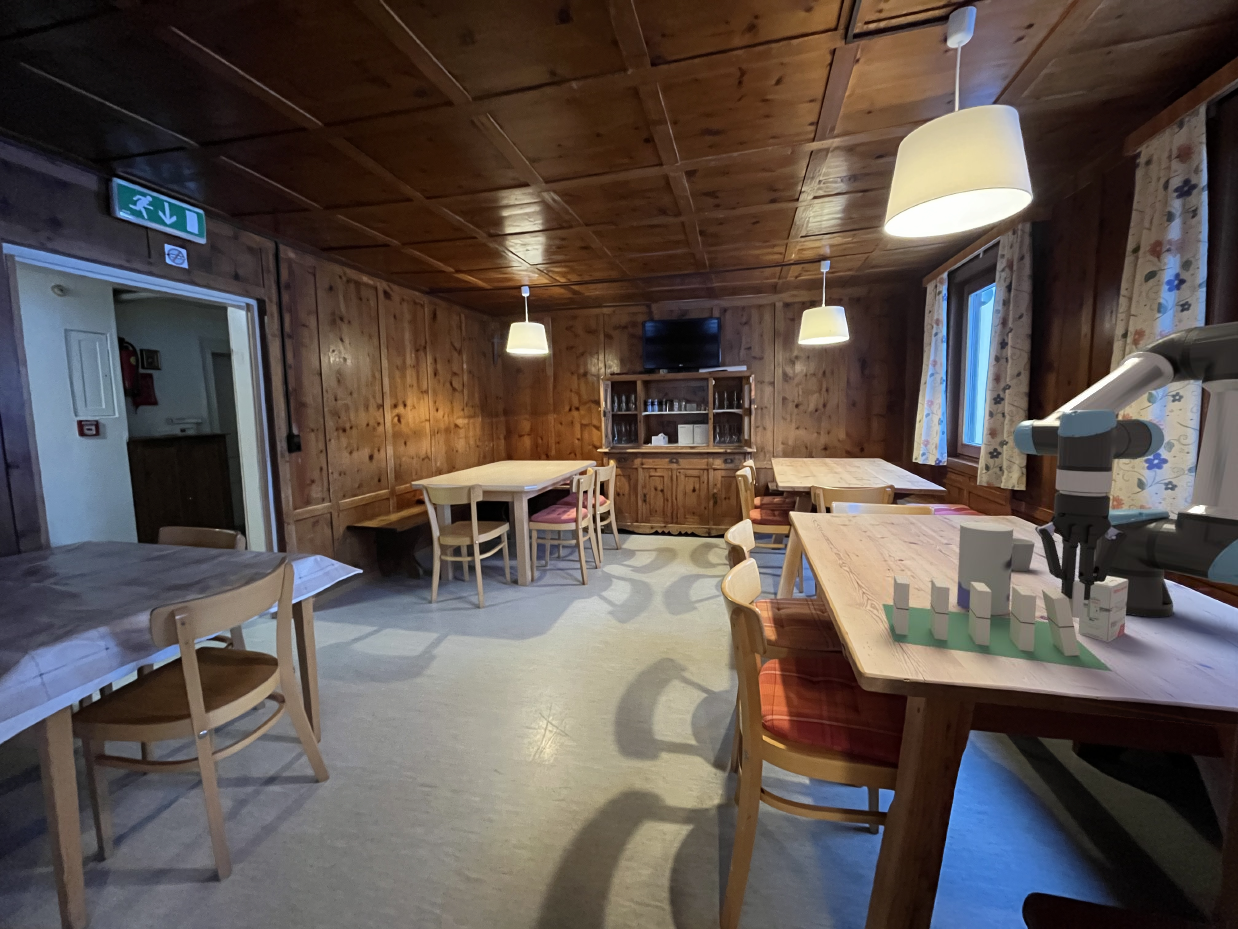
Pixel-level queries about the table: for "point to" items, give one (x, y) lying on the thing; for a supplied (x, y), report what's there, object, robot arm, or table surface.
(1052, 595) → the domino
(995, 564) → the container
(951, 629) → the felt mat
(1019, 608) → the domino
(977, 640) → the domino
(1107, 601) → the ink box
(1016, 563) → the cup
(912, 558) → the table surface
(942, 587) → the domino
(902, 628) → the domino
